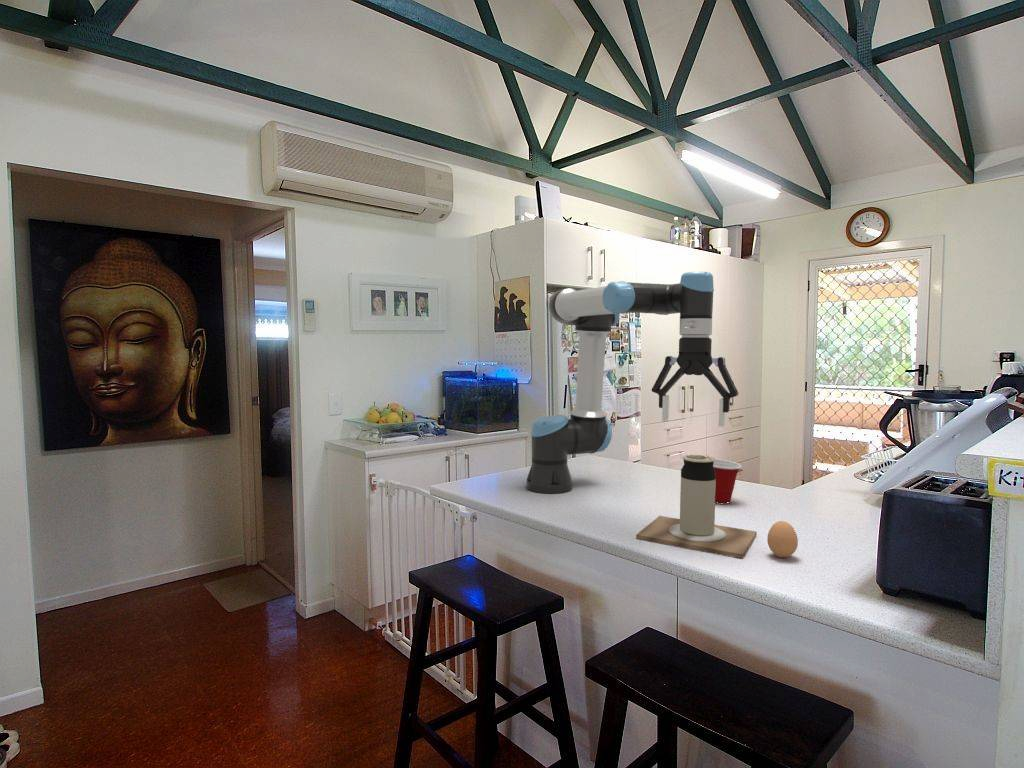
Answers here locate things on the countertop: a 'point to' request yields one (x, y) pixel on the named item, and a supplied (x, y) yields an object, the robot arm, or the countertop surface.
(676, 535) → the walnut board
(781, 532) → the egg
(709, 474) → the travel mug
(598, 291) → the robot arm
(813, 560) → the countertop surface
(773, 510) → the countertop surface
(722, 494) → the plastic cup
